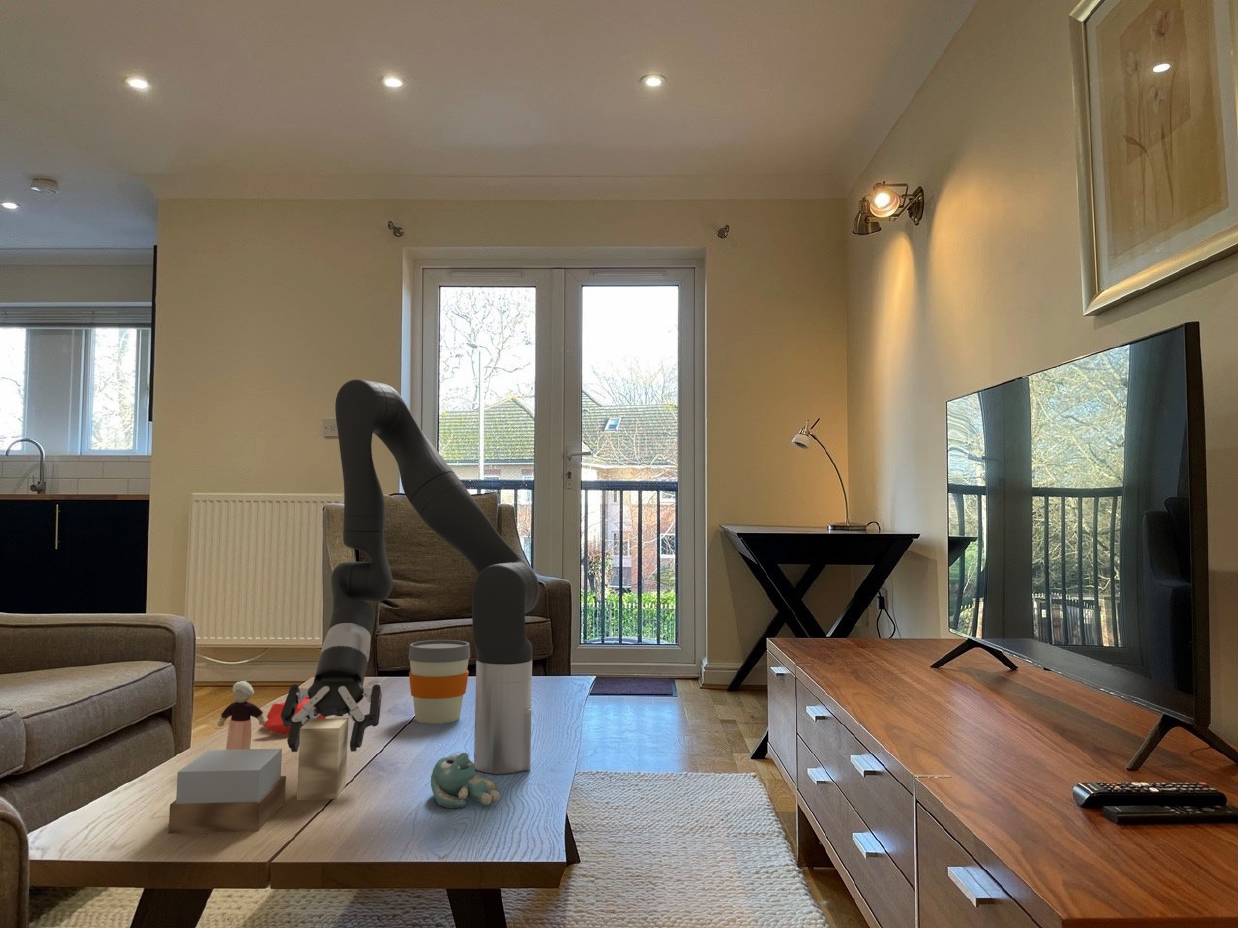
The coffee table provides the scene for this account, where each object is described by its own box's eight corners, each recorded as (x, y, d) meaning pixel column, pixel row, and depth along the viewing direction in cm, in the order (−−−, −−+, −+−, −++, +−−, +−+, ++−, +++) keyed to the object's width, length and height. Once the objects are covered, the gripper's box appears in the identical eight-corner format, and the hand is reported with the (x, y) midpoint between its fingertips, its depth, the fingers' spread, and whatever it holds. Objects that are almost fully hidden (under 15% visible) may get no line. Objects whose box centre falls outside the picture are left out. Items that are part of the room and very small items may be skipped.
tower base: (284, 804, 114) (285, 775, 114) (258, 834, 103) (259, 802, 103) (203, 806, 113) (205, 777, 113) (168, 836, 102) (169, 804, 102)
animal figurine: (251, 739, 146) (252, 711, 147) (274, 720, 161) (275, 694, 162) (317, 738, 148) (318, 710, 148) (334, 719, 163) (335, 693, 163)
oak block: (345, 785, 121) (348, 718, 122) (336, 798, 115) (339, 728, 116) (308, 786, 121) (311, 718, 121) (296, 799, 115) (300, 728, 115)
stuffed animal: (470, 780, 108) (414, 748, 115) (462, 831, 108) (406, 796, 115) (524, 762, 116) (469, 733, 124) (516, 809, 117) (462, 778, 124)
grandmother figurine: (212, 762, 132) (216, 684, 133) (217, 755, 136) (220, 679, 136) (262, 759, 134) (266, 682, 135) (266, 753, 138) (269, 678, 139)
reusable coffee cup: (454, 727, 157) (456, 649, 158) (394, 723, 159) (397, 647, 160) (477, 713, 169) (479, 641, 170) (422, 709, 171) (424, 638, 172)
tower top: (280, 777, 113) (281, 748, 114) (257, 801, 103) (259, 769, 104) (206, 779, 112) (207, 750, 112) (175, 803, 102) (177, 771, 103)
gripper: (295, 643, 128) (268, 736, 116) (386, 644, 129) (369, 735, 117) (302, 671, 133) (278, 762, 120) (390, 671, 134) (375, 761, 122)
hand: (323, 749), depth 119 cm, fingers open, 8 cm apart
